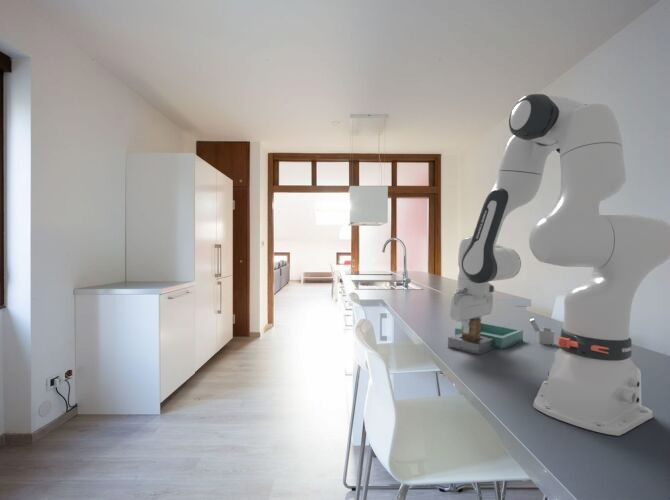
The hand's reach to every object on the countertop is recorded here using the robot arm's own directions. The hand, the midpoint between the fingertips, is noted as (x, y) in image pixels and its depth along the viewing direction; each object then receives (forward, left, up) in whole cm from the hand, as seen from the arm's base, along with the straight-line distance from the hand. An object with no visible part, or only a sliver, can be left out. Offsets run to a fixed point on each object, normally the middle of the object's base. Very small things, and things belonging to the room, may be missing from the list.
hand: (471, 331), depth 110 cm
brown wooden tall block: (0, 0, -5) cm, 5 cm away
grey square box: (0, 0, -5) cm, 5 cm away
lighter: (+24, -12, -5) cm, 27 cm away
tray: (+14, +1, -5) cm, 15 cm away
